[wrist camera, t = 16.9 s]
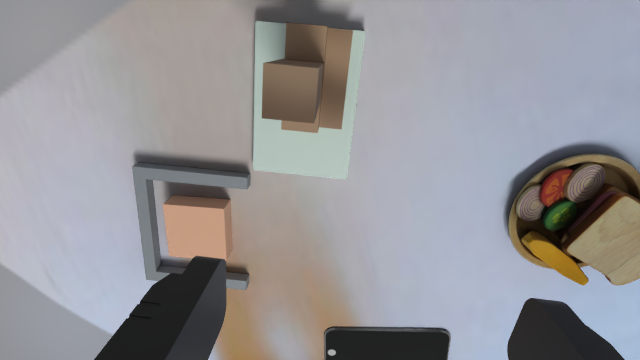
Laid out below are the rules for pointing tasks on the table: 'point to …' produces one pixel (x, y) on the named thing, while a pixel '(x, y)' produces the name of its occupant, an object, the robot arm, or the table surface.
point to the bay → (147, 211)
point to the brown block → (308, 79)
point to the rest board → (295, 146)
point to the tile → (198, 227)
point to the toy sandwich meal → (581, 218)
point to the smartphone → (386, 343)
